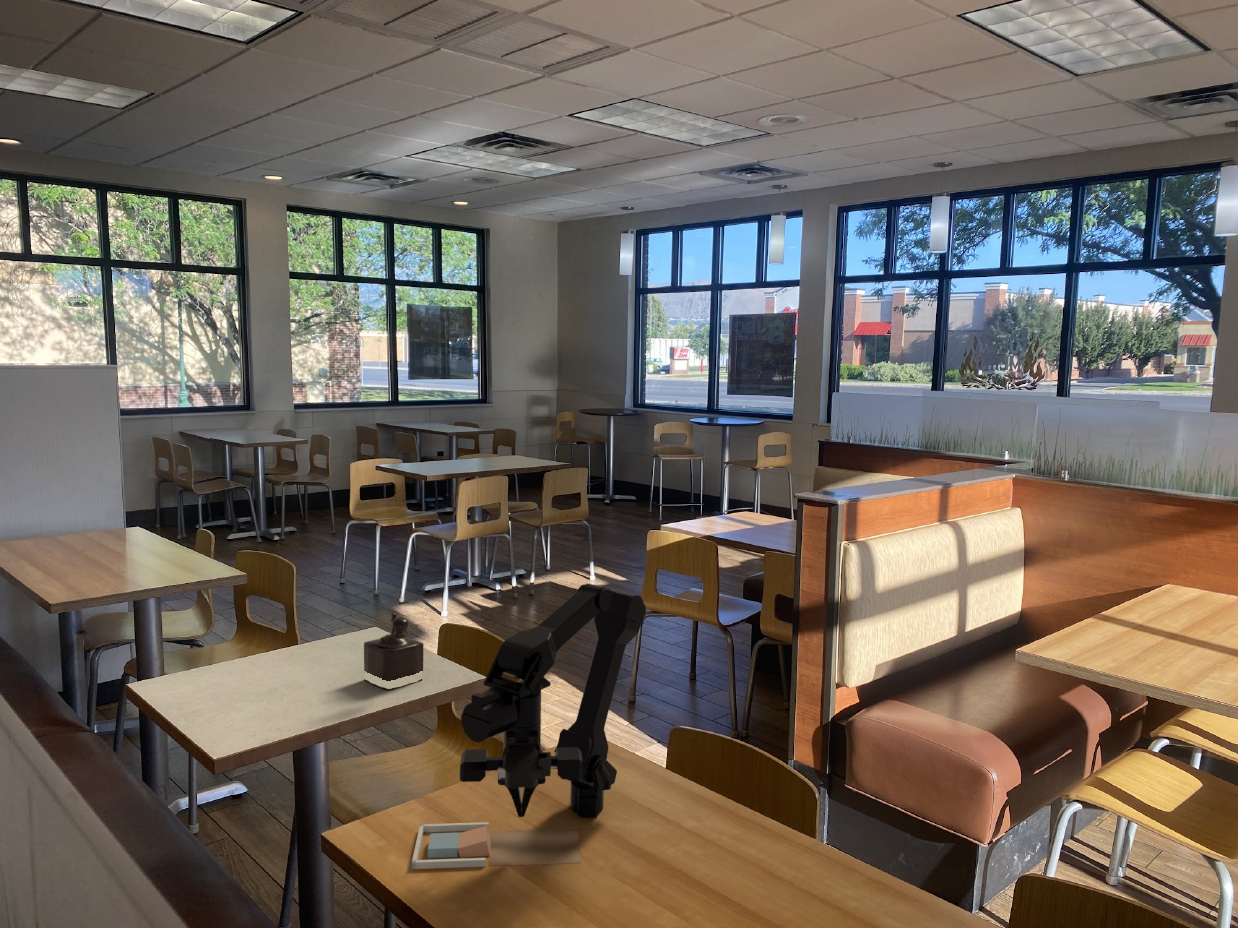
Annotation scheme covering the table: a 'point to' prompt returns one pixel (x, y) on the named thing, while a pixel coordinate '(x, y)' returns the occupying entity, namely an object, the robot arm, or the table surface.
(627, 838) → the table surface
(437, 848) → the slate tile
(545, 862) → the board
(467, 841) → the terracotta tile
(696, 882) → the table surface
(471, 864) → the tray
